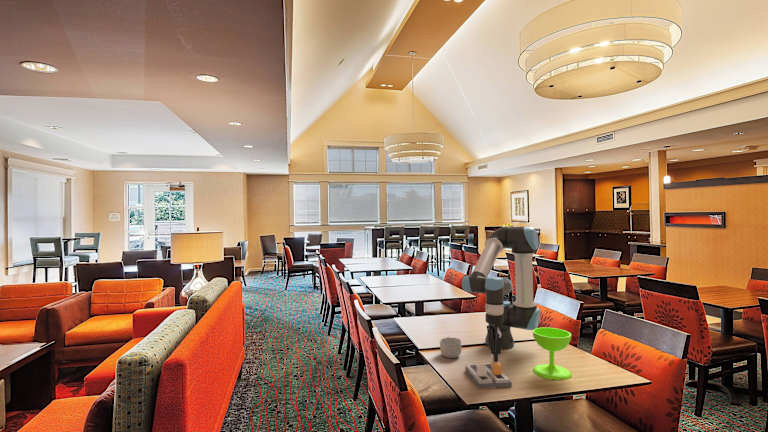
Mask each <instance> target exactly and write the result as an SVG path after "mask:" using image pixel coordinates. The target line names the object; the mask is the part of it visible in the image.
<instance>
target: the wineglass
mask: <svg viewBox="0 0 768 432" xmlns="http://www.w3.org/2000/svg"><path fill="white" fill-rule="evenodd" d="M532 336H533V339H534V341H535V342H536V343H537V345H538V346H540V347H541V348H542V349H544V350H546V351H548V352H549V363H548V364H547V363H546V364H545V363H544V364H542V363H541V364H538V365H535V366H534V367H533V369H532V371H533V373H534V374H535V375H536V376H538V377H541V378H544V379H547V380H552V379H555V380H554V381H561V380H560V379H566V380H569V379H571V378H572V377H571V375H572V372H571V371H570V370H568V369H567V368H565V367H562V366H561V365H556V364H555V352H560V351H562V350H564V349H565V348H567V346H569V344H570V342H571V340H572V333H571V332H569V331H568V330H564V329H561V328H556V327H546V326H545V327H537V328H536V329H534V330H532ZM570 377H571V378H570ZM568 378H569V379H568Z"/></svg>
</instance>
